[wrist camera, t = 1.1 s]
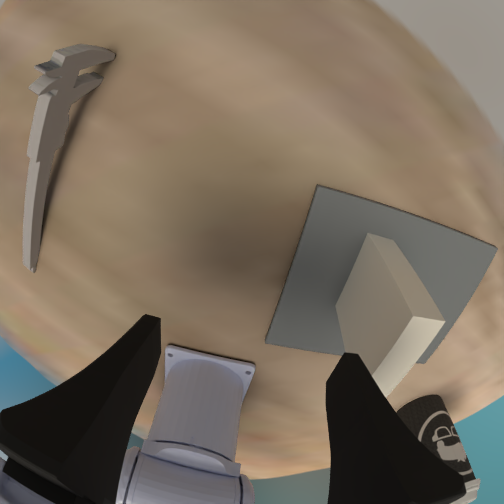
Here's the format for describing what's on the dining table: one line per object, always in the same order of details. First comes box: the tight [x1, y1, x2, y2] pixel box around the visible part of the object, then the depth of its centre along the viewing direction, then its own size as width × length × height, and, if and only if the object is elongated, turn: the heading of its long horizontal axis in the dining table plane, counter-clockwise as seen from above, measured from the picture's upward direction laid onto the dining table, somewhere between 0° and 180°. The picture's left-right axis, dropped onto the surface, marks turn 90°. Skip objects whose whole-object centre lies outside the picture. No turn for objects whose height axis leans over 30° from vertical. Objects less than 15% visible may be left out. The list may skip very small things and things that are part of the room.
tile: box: [335, 233, 446, 398], centre depth 16 cm, size 6×2×8 cm, turn 167°
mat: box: [265, 184, 498, 364], centre depth 20 cm, size 13×16×1 cm
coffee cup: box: [397, 395, 480, 504], centre depth 22 cm, size 10×10×15 cm
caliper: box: [23, 44, 115, 273], centre depth 15 cm, size 20×1×6 cm, turn 144°
